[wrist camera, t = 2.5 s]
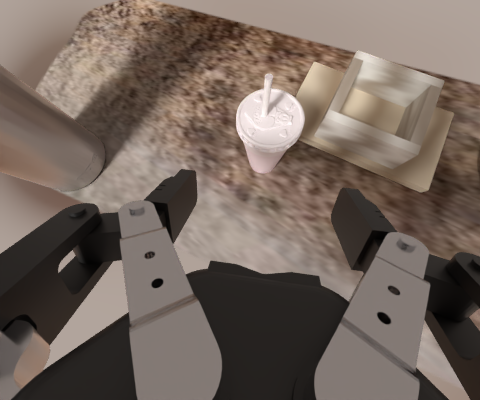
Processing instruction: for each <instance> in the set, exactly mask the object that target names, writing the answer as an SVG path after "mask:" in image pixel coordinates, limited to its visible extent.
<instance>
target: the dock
mask: <svg viewBox="0 0 480 400" xmlns="http://www.w3.org/2000/svg"><path fill="white" fill-rule="evenodd" d="M443 84H444V80H441V79H438V78H436V77H433V76H430V75H427V74H424V73H421V72H418V71H416V70H413V69H410V68H407V67H404V66H401V65H398V64H395V63H393V62H390V61H387V60H384V59H381V58H378V57H375V56H373V55H370V54H367V53H364V52H361V51H358V50H357V52H356V54H355V56H354V57H353V59H352V61H351V63H350V65H349V66H348V68H347V70H346V72H345V73H344V72H341V71H338V70H336V69H333V68H330V67H327V66H325V65H322V64H319V63H317V62H314V63H313V65H312V67H311V69H310V71H309V72H308V74H307V76H306V78H305V80H304V82H303V84H302V86H301V87H300V89H299V91H298V93H297V95H296V97H295V98H296V99H297V100H298V101H299V103H300V104H301V106H302V108H303V111H304V116H305V120H304V126H303V129H302V132H301V135H300V137H299V138H298V140H299V141H302V142H304V143H306V144H309V145H311V146H313V147H316V148H318V149H320V150H323V151H325V152H327V153H330V154H332V155H334V156H337V157H339V158H341V159H344V160H346V161H348V162H350V163H353V164H355V165H357V166H360V167H362V168H364V169H367V170H369V171H371V172H374V173H376V174H378V175H381V176H383V177H385V178H388V179H390V180H392V181H395V182H397V183H399V184H401V185H404V186H406V187H408V188H411V189H413V190H415V191H418V192H420V193H421V192H424V191H427V190H429V187H430V184H431V181H432V178H433V175H434V172H435V169H436V166H437V164H438V161H439V158H440V155H441V152H442V149H443V146H444V143H445V140H446V137H447V134H448V131H449V128H450V125H451V122H452V119H453V116H454V113H452V112H450V111H447V110H444V109H442V108H439V107H436V104H437V101H438V98H439V95H440V92H441V90H442V87H443Z"/></svg>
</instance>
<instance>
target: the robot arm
mask: <svg viewBox="0 0 480 400" xmlns="http://www.w3.org/2000/svg"><path fill="white" fill-rule="evenodd" d="M105 156H106V154H105V148H104V145H103V143H102V142H101V140H100V139H99V138H98V137H96V136H95V135H94V134H93V133H91V132H90V131H89V130H87V129H86V128H84V127H83V126H82V125H80V124H79V123H78V122H76V121H75V120H74V119H73V118H71V117H70V116H69V115H67V114H66V113H64V112H63V111H62V110H60V109H59V108H58V107H56V106H55V105H54V104H52V103H51V102H50V101H48V100H47V99H46V98H44V97H43V96H42V95H40V94H39V93H38V92H36V91H35V90H33V89H32V88H31V87H29V86H28V85H27V84H25V83H24V82H23V81H21V80H20V79H19V78H17V77H16V76H15V75H13V74H12V73H10V72H9V71H8V70H6V69H5V68H4V67H2V66H1V65H0V172H2V173H5V174H8V175H12V176H15V177H18V178H21V179H24V180H27V181H31V182H34V183H37V184H40V185H44V186H47V187H50V188H53V189H57V190H60V191H75V190H78V189H81V188H83V187H85V186H87V185H88V184H90V183H91V182H92V181H93V180H95V178H96V177H97V176H98V175H99V174H100V172H101V170H102V168H103V166H104V163H105ZM196 202H197V180H196V172H195V171H193V170H184V169H181V170H180V171H179V172H178V173H177V174H176V175H175V176H174V177H169V178H167V179H165V180H164V181H162V182H161V183H160V184H159V186H157V187H156V188H155V190H153V191H152V192H151V193H150V194H149V195H148V196H147V197H146V198H145V199H144V200H140V201H133V202H130V203H127V204H125V205H124V206H122V207H121V208H120V209H119V211H118V212H117V213H103V214H100V212H99V209H98V207H97V206H96V205H95V204H90V203H83V204H77V205H73V206H70V207H68V208H65V209H64V210H62V211H60V212H59V213H58V214H56V215H55V216H53V217H52V218H50V219H49V220H48V221H46V222H45V223H44V224H42V225H41V226H39V227H38V228H36V229H35V230H34V231H32V232H31V233H30V234H28V235H26V236H25V237H24V238H22V239H21V240H19V241H18V242H17V243H15V244H14V245H12V246H11V247H9V248H8V249H7V250H5V251H4V252H2V253H1V254H0V400H449V399H448V398H447V397H446V396H445V395H444V394H443V393H441V391H439V390H438V389H437V388H436V387H435V386H434V385H433V384H432V383H431V382H430V381H429V380H428V379H427V378H426V377H425V376H424V375H423V374H422V373H421V372H420V371H419V370H418V369H417V368H416V363H417V357H418V352H419V346H420V341H421V335H422V329H423V324H424V320H425V321H426V323H427V325H428V327H429V328H430V330H431V332H432V334H433V335H434V337H435V339H436V341H437V342H438V344H439V346H440V347H441V349H442V351H443V353H444V354H445V356H446V358H447V360H448V361H449V363H450V365H451V367H452V368H453V370H454V372H455V374H456V375H457V377H458V379H459V381H460V382H461V384H462V386H463V387H464V389H465V391H466V393H467V394H468V396H469V398H470V400H480V331H479V330H478V328H477V327H476V326H475V324H474V323H473V322H472V321H471V319H470V318H469V316H471V315H472V314H473V313H474V312H475V311H477V310H478V309H479V308H480V257H479V256H476V255H474V254H470V253H464V252H460V253H457V254H456V255H455V256H454V257H453V258H452V259H451V260H450V261H449V260H446V259H443V258H440V257H437V256H434V255H430V254H429V251H428V249H427V248H426V246H425V245H424V244H423V243H421V242H420V241H418V240H417V239H415V238H413V237H411V236H409V235H406V234H403V233H398V232H397V231H396V230H395V228H394V227H393V226H392V225H391V223H390V222H389V221H388V220H387V219H386V218H385V216H384V215H383V214H382V213H381V211H380V210H379V209H378V208H377V206H376V205H374V204H373V203H372V202H370V201H369V200H367V199H365V197H364V196H363V195H362V193H361V192H360V191H359V190H358V189H350V188H342V189H341V190H340V192H339V195H338V197H337V200H336V203H335V205H334V208H333V211H332V214H331V222H332V225H333V227H334V229H335V232H336V234H337V237H338V239H339V241H340V244H341V246H342V248H343V251H344V253H345V256H346V258H347V260H348V263H349V265H350V267H351V270H357V271H363V273H364V274H363V276H362V278H361V280H360V281H359V283H358V285H357V287H356V289H355V290H354V292H353V294H352V296H351V298H350V299H349V301H347V300H346V299H344V298H343V297H342V296H340V295H339V294H337V293H335V292H334V291H332V290H330V289H328V288H326V287H323V286H321V283H320V279H319V276H314V275H307V274H300V273H293V272H288V273H275V274H261V273H259V272H256V271H253V270H250V269H248V268H245V267H242V266H240V265H237V264H231V263H224V262H217V261H210V264H209V267H208V269H203V270H197V271H194V272H191V273H188V274H186V275H185V272H184V270H183V267H182V265H181V263H180V261H179V258H178V256H177V253H176V251H175V248H174V246H173V244H174V242H175V240H176V239H177V237H178V235H179V233H180V232H181V230H182V228H183V226H184V225H185V223H186V221H187V219H188V217H189V216H190V214H191V212H192V210H193V209H194V207H195V205H196ZM72 250H73V251H74V253H75V255H76V256H75V257H74V258H73V259H72V260H71V261H70V262H69V263H68V264H67V265H66V266H65V267H64V268H63V269H62V270H61V272H59V273H58V267H59V264H60V262H61V260H62V259H63V258H64V257H65V256H66V255H67V254H68V253H69V252H70V251H72ZM117 260H122V263H123V271H124V278H125V286H126V294H127V301H128V309H129V312H128V313H127V314H125V315H124V316H122V317H121V318H119V319H118V320H116V321H115V322H114V323H112V324H110V325H109V326H108V327H106V328H105V329H103V330H102V331H100V332H99V333H97V334H96V335H95V336H93V337H91V338H90V339H89V340H87V341H86V342H84V343H83V344H81V345H80V346H78V347H77V348H75V349H74V350H72V351H71V352H69V353H68V354H67V355H65V356H64V357H62V358H61V359H59V360H58V361H56V362H55V363H53V364H52V365H50V366H49V367H47V368H46V369H45V370H43V368H44V367H45V365H46V363H47V361H48V359H49V355H50V344H51V343H52V342H53V340H54V339H55V338H56V337H57V335H58V334H59V333H60V331H61V330H62V329H63V327H64V326H65V325H66V323H67V322H68V321H69V319H70V318H71V317H72V315H73V314H74V313H75V311H76V310H77V309H78V307H79V306H80V305H81V303H82V302H83V301H84V299H85V298H86V297H87V295H88V294H89V293H90V292H91V290H92V289H93V288H94V286H95V285H96V284H97V282H98V281H99V279H100V278H101V277H102V275H103V274H104V273H105V272H106V270H107V269H108V268H109V266H110V265H111V264H112V262H113V261H117Z"/></svg>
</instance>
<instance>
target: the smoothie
mask: <svg viewBox="0 0 480 400" xmlns="http://www.w3.org/2000/svg"><path fill="white" fill-rule="evenodd" d="M272 80H273V76H272V75H271V74H267V75H266V76H265V83H264V89H261V90H258V91H255V92H253V93H251V94H250V95H248V96H247V97H246V98H245V99H244V100H243V101H242V102H241V104H240V105H239V107H238V110H237V115H236V127H237V131H238V134H239V136H240V138H241V139H242V141H243V142H244V145H245V148H246V152H247V155H248V159H249V162H250V165H251V167H252V169H253V170H255V171H256V172H258V173H268V172H270V171H271V170H273V169H274V167H275V166H276V164H277V163H278V162H279V160H280V159H281V157H282V156H283V154H284V153H285V151H286V150H287V149H288V148H289V147H291V146H292V145H293V144H294V143H295V142H296V141H297V140H298V138H299V137H300V135H301V132H302V129H303V126H304V120H305V116H304V111H303V108H302V106H301V104H300V103H299V101H298V100H297V99H296V98H295V97H294V96H292V95H291V94H289V93H288V92H285V91H283V90H280V89H273V88H271V87H272Z"/></svg>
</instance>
